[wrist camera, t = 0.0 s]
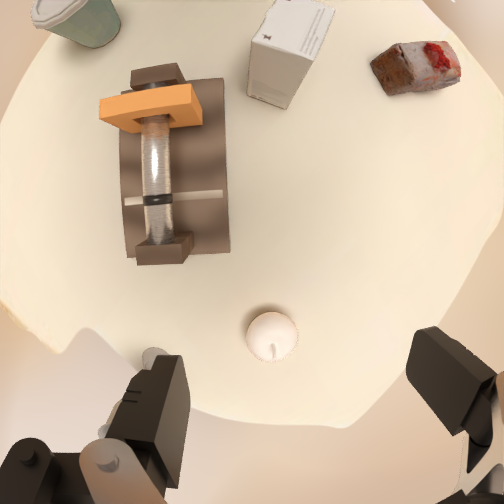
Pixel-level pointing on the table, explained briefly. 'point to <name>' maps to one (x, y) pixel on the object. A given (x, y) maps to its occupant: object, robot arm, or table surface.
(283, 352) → the plain white apple
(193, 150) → the pipe stand
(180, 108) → the square ring
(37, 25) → the disposable coffee cup
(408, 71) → the food item
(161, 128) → the pipe
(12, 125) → the table surface
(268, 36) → the skincare box
